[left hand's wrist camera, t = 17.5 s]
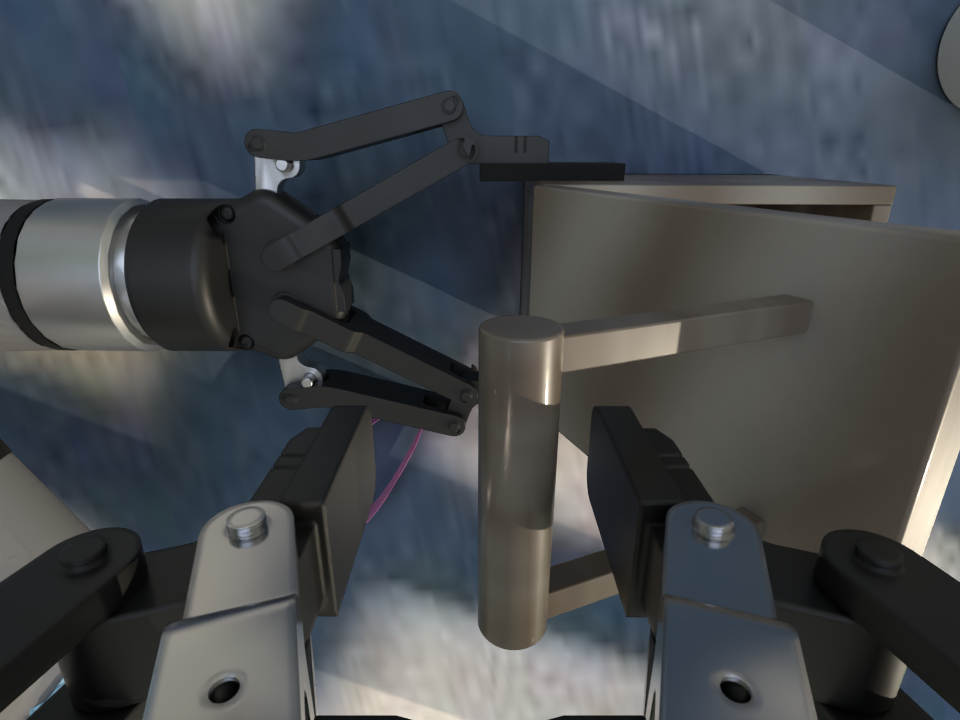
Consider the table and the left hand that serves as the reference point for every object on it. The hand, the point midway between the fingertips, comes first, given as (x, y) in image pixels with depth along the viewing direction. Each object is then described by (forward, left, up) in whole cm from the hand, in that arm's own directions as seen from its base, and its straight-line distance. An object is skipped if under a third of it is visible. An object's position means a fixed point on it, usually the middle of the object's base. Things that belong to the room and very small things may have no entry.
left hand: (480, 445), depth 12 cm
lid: (+4, -4, -6) cm, 8 cm away
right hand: (+5, -4, -17) cm, 18 cm away
